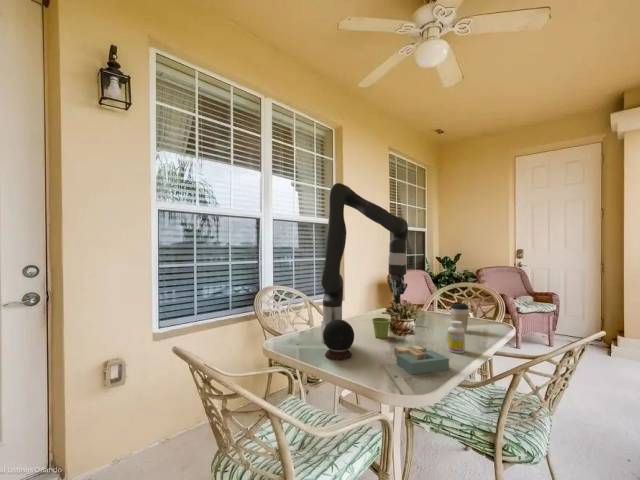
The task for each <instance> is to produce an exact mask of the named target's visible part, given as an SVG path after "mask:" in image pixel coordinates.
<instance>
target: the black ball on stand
mask: <svg viewBox="0 0 640 480" xmlns="http://www.w3.org/2000/svg"><path fill="white" fill-rule="evenodd" d="M323 340H324V342H323V344H324V345H325V346H326V347H327V349H328V350H326V352H325V353H324V354H325V356H324V357H325V358H326V359H328V360H331V361H336V362H338V361H340V362H342V361H348V360H350V359H352V357H353V353H352V352H351V350H350V348H351V347H352V345H353V344H354V341H355V331H354V328H353V327H352V325H351V324H350V323H349V322H347V320H343V319H342V320H339V319H337V320H333V321H331V322H329V323H328V324H327V325H326V327H325V328H324V331H323Z"/></svg>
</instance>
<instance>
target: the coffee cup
mask: <svg viewBox="0 0 640 480" xmlns="http://www.w3.org/2000/svg"><path fill="white" fill-rule="evenodd" d="M450 318H451V320H450V321H461V322H462V328H463V329H464V330H465V332H466V333H467V332H468V331H467V329H468V322H469V319H468V318H469V306H468V305H467V304H466V303H462V302H459V301H457V302H456V301H455V302H453V303H452V304H450Z"/></svg>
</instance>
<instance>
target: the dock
mask: <svg viewBox="0 0 640 480" xmlns="http://www.w3.org/2000/svg"><path fill="white" fill-rule="evenodd" d="M422 352H423V353H425V354H426V359H424V360H418V359H416V358H414V357H413V356H411V355H409V354H408V353H403V354H397V362H396V365H397V366H398V367H399V368H400V369H402V370H404V371H405V372H407V373H408V374H410V375H411V376H412V375H418V374H419V375H420V374H424V373H432V372H433V373H434V372H439V371H441V370H442V371H447V370H446V369H450V361H449V360H450V358H448V357H447V356H444V355H443V354H441V353H438V352H437V351H434V350H432V349H431V350H426V351H422Z"/></svg>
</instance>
